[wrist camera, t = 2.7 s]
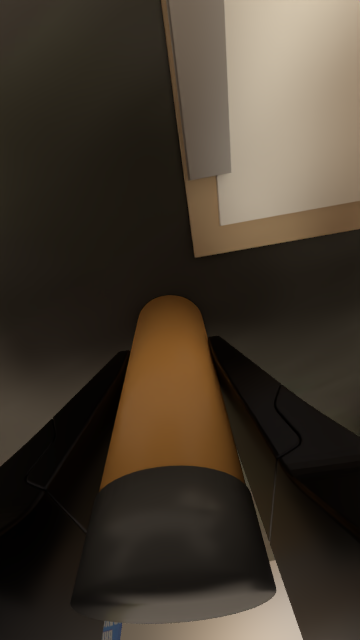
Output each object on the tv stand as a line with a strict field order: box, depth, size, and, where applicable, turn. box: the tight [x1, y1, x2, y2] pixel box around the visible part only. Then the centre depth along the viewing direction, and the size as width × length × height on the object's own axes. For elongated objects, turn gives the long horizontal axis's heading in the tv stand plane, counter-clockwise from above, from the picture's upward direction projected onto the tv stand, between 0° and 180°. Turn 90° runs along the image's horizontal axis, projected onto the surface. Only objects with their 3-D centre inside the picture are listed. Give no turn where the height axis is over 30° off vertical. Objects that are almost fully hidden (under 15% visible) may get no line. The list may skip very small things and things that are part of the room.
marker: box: [70, 295, 276, 624], centre depth 7 cm, size 3×3×8 cm
